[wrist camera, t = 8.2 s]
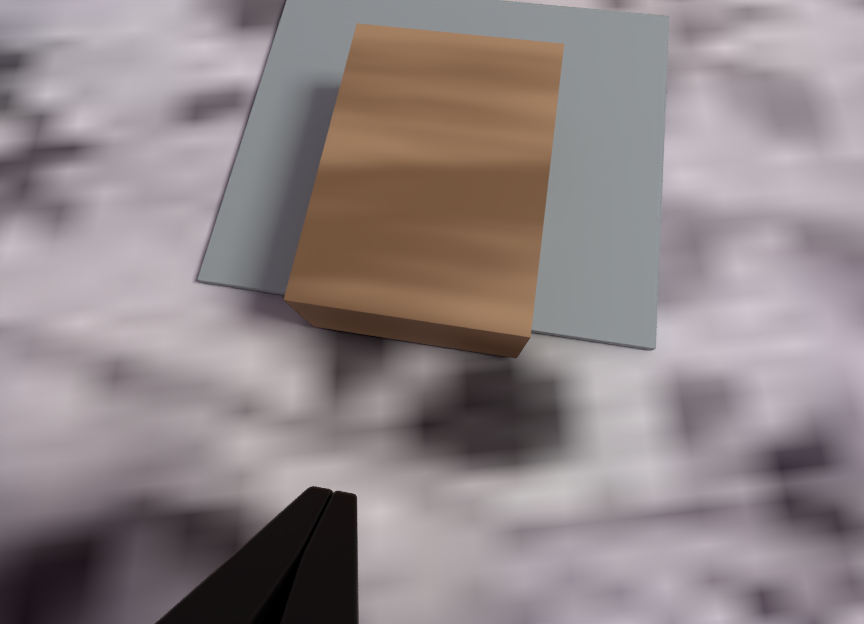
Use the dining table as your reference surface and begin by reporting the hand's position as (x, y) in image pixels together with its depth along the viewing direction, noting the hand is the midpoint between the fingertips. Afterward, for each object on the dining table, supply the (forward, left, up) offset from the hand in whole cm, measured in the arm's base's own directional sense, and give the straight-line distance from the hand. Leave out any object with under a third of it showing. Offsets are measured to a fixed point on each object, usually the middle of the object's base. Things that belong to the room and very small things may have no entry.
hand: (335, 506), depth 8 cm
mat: (+10, -8, -7) cm, 15 cm away
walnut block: (+3, -3, -5) cm, 7 cm away
